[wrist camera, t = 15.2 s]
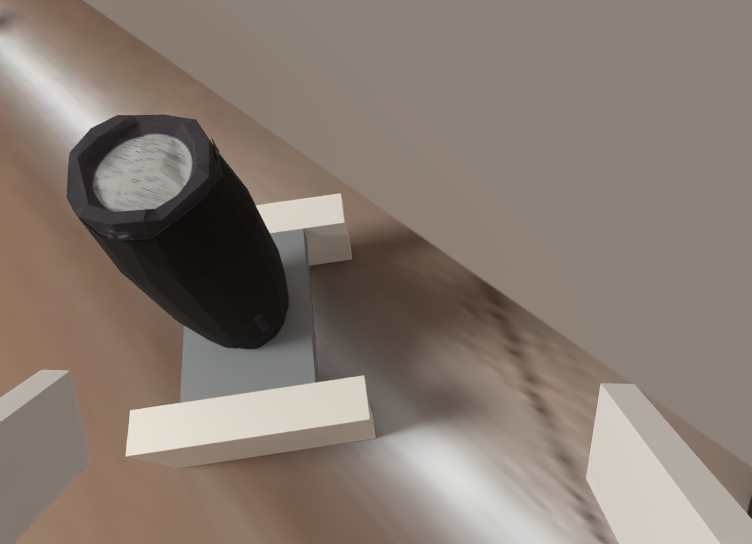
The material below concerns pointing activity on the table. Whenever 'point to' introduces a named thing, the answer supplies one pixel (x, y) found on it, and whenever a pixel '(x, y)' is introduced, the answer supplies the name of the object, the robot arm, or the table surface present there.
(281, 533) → the table surface
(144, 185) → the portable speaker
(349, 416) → the square spool
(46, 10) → the table surface
